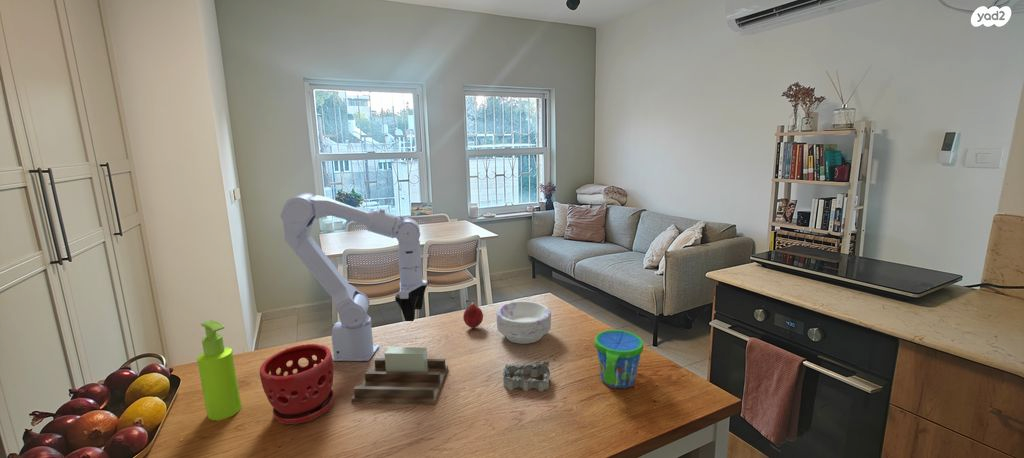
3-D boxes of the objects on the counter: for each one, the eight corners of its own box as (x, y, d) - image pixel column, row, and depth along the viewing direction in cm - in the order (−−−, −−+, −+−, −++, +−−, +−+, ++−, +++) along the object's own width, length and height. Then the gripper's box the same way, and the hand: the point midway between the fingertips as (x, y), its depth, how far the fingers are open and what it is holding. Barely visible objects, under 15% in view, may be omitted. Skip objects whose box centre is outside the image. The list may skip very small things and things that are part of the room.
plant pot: (289, 392, 95) (282, 343, 93) (347, 392, 95) (342, 343, 92) (252, 431, 82) (243, 375, 80) (319, 432, 82) (312, 375, 79)
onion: (482, 332, 123) (481, 306, 121) (462, 332, 123) (461, 306, 121) (484, 324, 129) (483, 299, 127) (465, 324, 129) (464, 299, 127)
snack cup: (629, 406, 88) (631, 361, 86) (582, 390, 94) (583, 348, 92) (650, 371, 101) (652, 332, 99) (607, 360, 107) (608, 322, 105)
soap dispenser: (218, 426, 84) (201, 332, 80) (202, 414, 88) (185, 324, 84) (249, 410, 89) (235, 320, 85) (232, 400, 93) (218, 314, 88)
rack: (351, 402, 91) (350, 390, 90) (375, 368, 105) (374, 357, 104) (434, 404, 90) (434, 391, 89) (448, 369, 104) (447, 357, 103)
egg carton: (551, 376, 100) (551, 360, 99) (548, 394, 93) (548, 377, 92) (506, 372, 102) (506, 357, 101) (500, 390, 95) (500, 373, 94)
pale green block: (386, 377, 99) (384, 353, 97) (390, 370, 102) (388, 347, 100) (424, 377, 98) (423, 353, 97) (427, 370, 101) (426, 347, 100)
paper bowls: (553, 349, 113) (553, 321, 111) (495, 349, 113) (494, 322, 111) (548, 324, 127) (548, 299, 126) (498, 325, 128) (497, 300, 126)
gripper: (418, 274, 103) (421, 326, 106) (432, 257, 117) (435, 304, 120) (389, 274, 103) (393, 326, 106) (407, 257, 117) (410, 304, 120)
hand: (413, 314), depth 113 cm, fingers open, 7 cm apart
